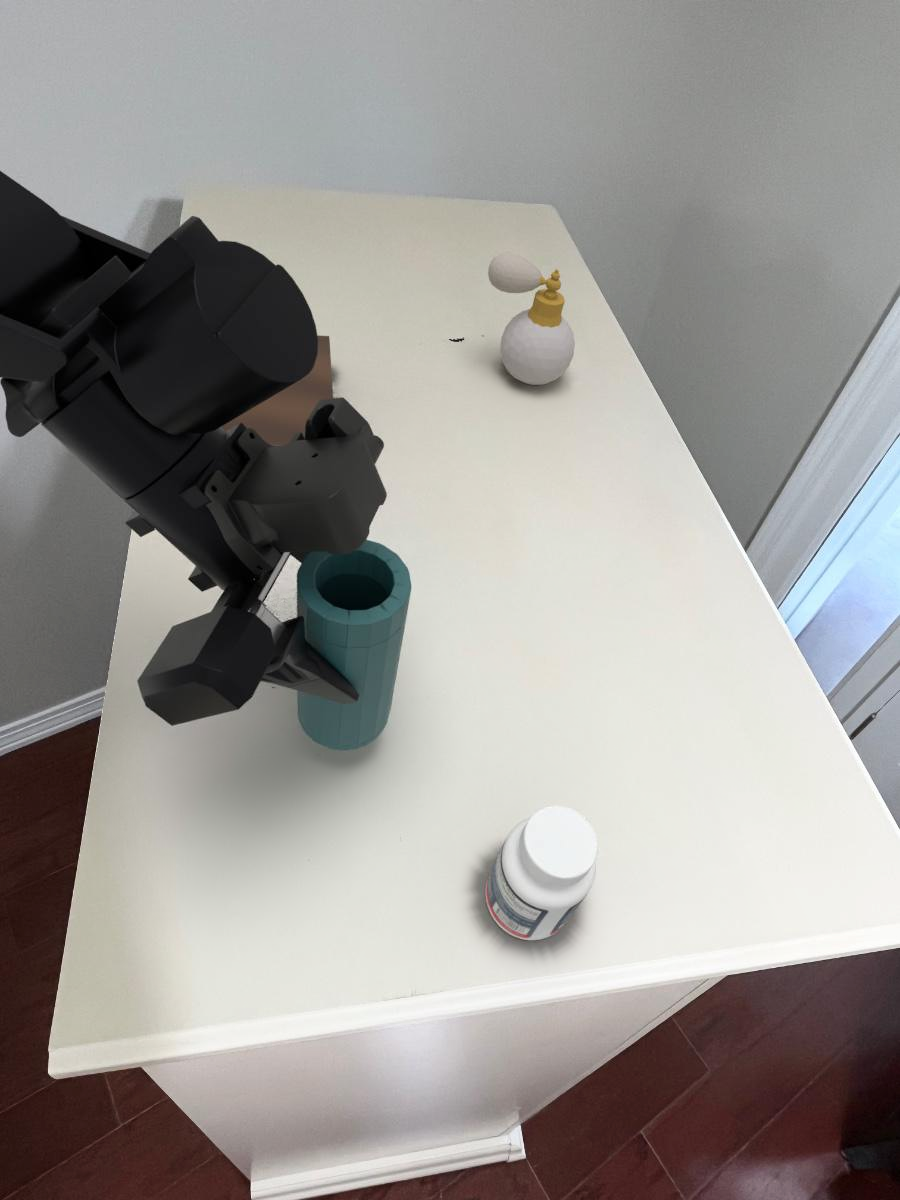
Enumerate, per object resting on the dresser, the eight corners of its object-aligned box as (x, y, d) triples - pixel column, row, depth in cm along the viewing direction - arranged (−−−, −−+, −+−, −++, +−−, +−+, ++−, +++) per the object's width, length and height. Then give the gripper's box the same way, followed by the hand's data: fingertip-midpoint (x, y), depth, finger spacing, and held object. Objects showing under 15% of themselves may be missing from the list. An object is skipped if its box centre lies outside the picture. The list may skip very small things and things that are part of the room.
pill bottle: (556, 850, 50) (596, 788, 43) (578, 935, 47) (625, 883, 40) (476, 860, 49) (503, 798, 42) (493, 948, 46) (525, 896, 39)
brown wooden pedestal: (334, 482, 68) (336, 447, 65) (215, 481, 67) (210, 444, 63) (328, 371, 78) (329, 335, 75) (223, 367, 76) (220, 330, 73)
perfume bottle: (573, 398, 81) (607, 290, 72) (481, 397, 79) (504, 285, 70) (555, 355, 86) (584, 248, 77) (467, 353, 84) (487, 242, 74)
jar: (283, 735, 49) (279, 605, 39) (315, 662, 52) (319, 525, 43) (373, 761, 49) (393, 637, 39) (399, 686, 52) (423, 554, 42)
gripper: (168, 544, 27) (435, 787, 35) (353, 285, 39) (520, 510, 47) (17, 616, 33) (271, 807, 41) (215, 376, 45) (383, 559, 53)
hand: (371, 658), depth 45 cm, fingers closed on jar, 6 cm apart
